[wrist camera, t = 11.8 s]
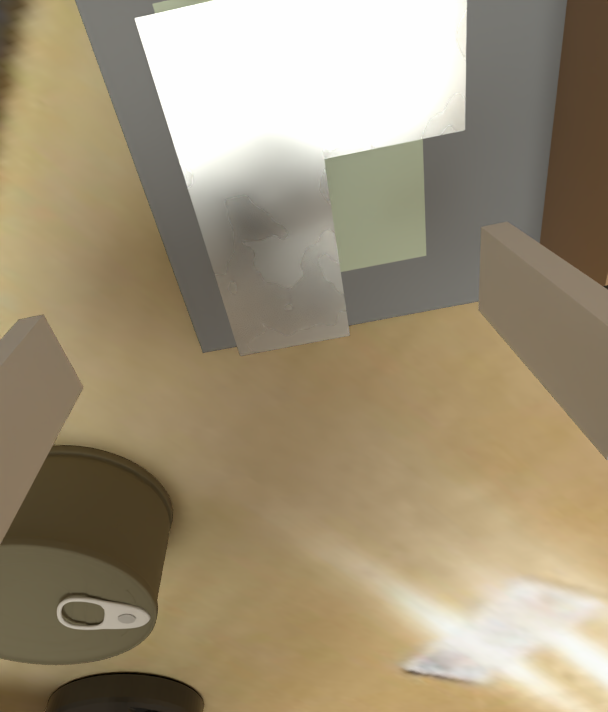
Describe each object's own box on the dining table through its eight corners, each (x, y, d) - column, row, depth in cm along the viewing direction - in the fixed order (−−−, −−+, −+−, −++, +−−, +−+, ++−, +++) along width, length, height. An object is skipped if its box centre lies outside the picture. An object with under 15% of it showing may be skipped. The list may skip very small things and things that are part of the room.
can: (-29, 427, 27) (-109, 533, 21) (186, 456, 29) (167, 559, 23) (-9, 553, 33) (-67, 660, 27) (166, 568, 35) (147, 670, 30)
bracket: (175, 25, 16) (135, 18, 11) (404, -26, 16) (467, -57, 11) (246, 284, 22) (239, 356, 17) (417, 251, 21) (462, 314, 16)
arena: (204, 346, 24) (189, 418, 20) (30, -139, 14) (-83, -224, 10) (552, 281, 24) (622, 340, 19) (629, -281, 14) (818, -450, 9)
